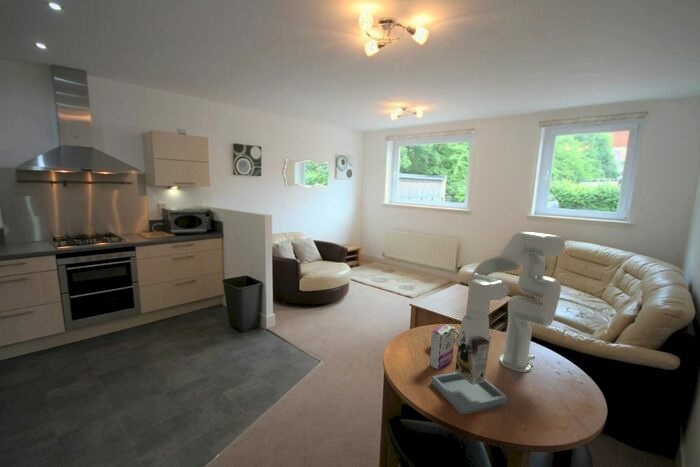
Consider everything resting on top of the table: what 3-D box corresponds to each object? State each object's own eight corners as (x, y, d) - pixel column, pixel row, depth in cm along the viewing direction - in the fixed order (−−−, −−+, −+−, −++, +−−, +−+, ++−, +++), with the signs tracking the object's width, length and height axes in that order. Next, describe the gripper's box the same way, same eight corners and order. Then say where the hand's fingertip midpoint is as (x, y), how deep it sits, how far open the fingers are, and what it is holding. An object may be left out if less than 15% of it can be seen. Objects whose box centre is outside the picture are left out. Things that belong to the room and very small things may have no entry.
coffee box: (454, 371, 120) (458, 332, 118) (467, 368, 123) (471, 329, 120) (471, 385, 112) (477, 343, 109) (485, 381, 114) (490, 340, 112)
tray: (472, 375, 130) (473, 368, 130) (506, 404, 113) (507, 396, 113) (431, 383, 124) (432, 376, 123) (461, 415, 107) (462, 407, 106)
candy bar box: (442, 357, 143) (446, 323, 141) (452, 362, 140) (456, 327, 137) (428, 365, 136) (431, 330, 133) (438, 370, 132) (442, 334, 130)
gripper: (488, 307, 120) (482, 351, 123) (450, 311, 114) (445, 356, 117) (503, 315, 113) (497, 361, 116) (464, 320, 107) (458, 367, 110)
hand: (471, 358), depth 116 cm, fingers closed on coffee box, 6 cm apart
